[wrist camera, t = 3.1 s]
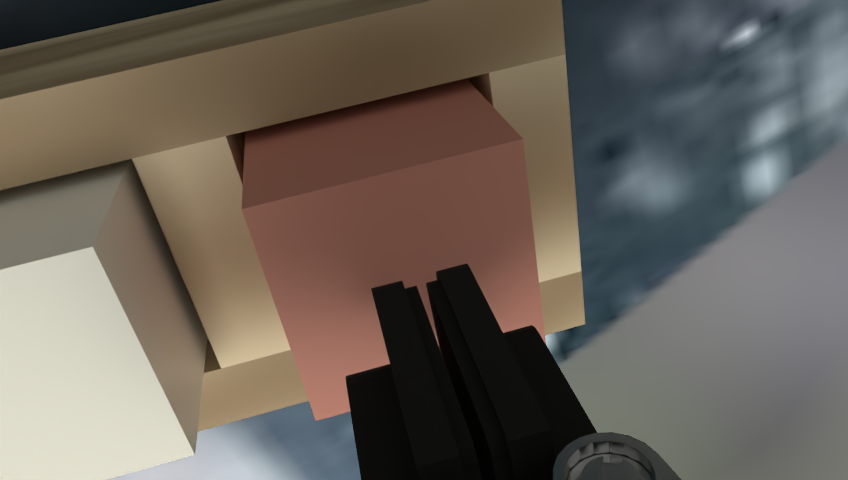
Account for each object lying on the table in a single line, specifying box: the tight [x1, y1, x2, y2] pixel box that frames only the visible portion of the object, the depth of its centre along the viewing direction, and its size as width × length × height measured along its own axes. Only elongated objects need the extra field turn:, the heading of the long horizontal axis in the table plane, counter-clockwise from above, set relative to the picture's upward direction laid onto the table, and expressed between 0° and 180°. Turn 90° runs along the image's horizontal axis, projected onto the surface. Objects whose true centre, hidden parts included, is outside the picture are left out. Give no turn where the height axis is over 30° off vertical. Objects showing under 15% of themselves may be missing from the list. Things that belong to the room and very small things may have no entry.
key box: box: [0, 0, 585, 432], centre depth 18 cm, size 9×24×6 cm, turn 100°
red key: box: [241, 78, 546, 421], centre depth 15 cm, size 5×5×4 cm
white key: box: [0, 159, 207, 480], centre depth 14 cm, size 5×5×4 cm
